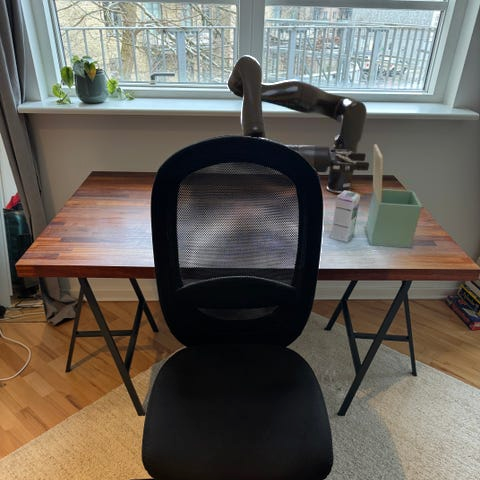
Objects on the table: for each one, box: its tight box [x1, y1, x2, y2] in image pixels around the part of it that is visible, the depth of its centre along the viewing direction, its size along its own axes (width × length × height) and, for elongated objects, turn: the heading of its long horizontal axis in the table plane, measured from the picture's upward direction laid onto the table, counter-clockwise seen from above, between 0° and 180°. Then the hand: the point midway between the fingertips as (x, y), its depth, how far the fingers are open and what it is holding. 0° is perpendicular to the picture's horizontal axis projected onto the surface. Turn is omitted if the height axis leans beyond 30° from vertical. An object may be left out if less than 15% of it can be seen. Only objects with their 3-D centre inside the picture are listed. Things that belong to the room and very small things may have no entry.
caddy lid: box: [372, 143, 384, 202], centre depth 137 cm, size 13×13×1 cm
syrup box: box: [330, 190, 361, 243], centre depth 144 cm, size 6×6×14 cm
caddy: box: [365, 188, 423, 249], centre depth 145 cm, size 13×13×14 cm
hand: (366, 161), depth 135 cm, fingers open, 8 cm apart
